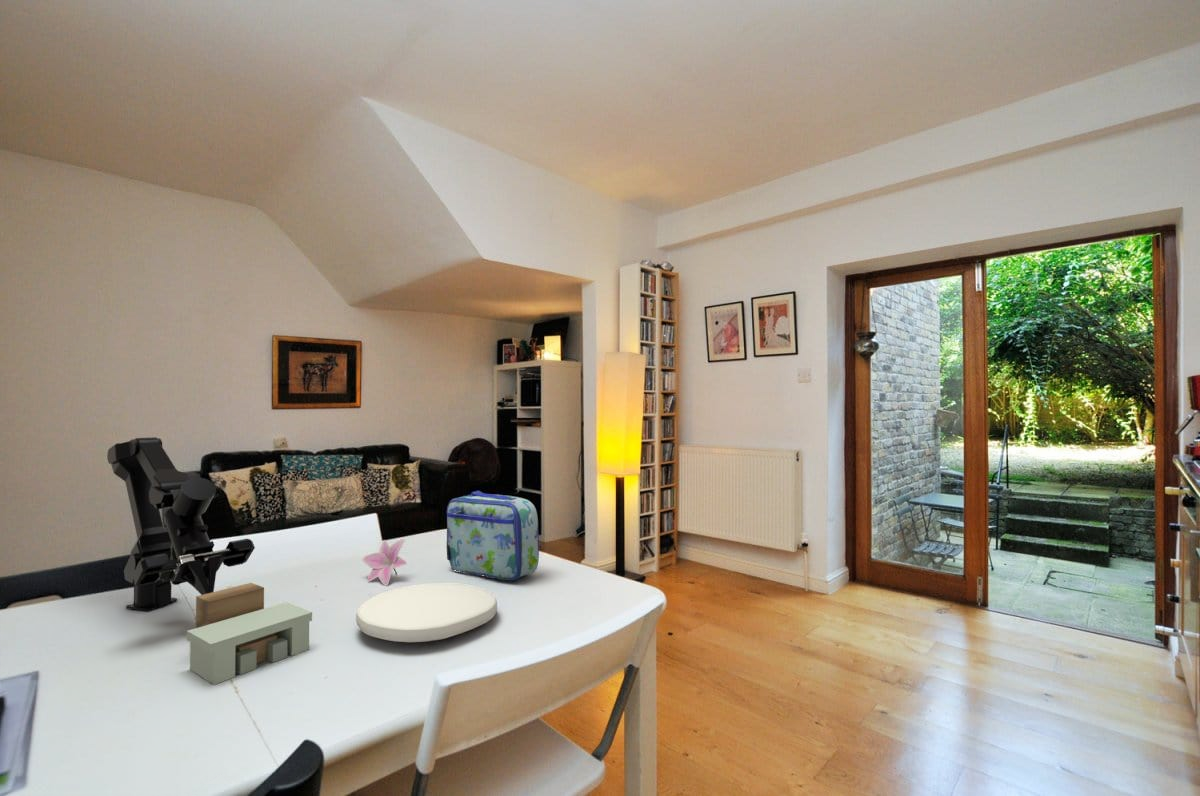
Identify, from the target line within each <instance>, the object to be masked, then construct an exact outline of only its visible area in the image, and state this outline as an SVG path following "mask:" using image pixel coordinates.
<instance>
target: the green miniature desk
mask: <svg viewBox="0 0 1200 796" xmlns="http://www.w3.org/2000/svg"><path fill="white" fill-rule="evenodd" d="M312 621H313V611H310V610H308V609H305V608H302V607H300V606H297V605H295V604H292V603H290V602H287V601H286V602H283V603H279V604H276V605H272V606H269V607H264V609H261V610H258V611H254V612H251V613H247V614H244V615H240V616H237V617H233V618H230V619H226V620H223V621H220V622H216V623H213V624H209V625H206V626H202V627H199V628H196V627H195V628H192V629H189V630H186V641H187V642H189V650H190V651H189V670H190V671H192V672H193V673H195V674H196V675H199V676H200V677H201V678H202V679H204V680H206V681H208V683H210V684H212V685H217V684H219V683H222V682H225V681H227V680H230V679H233V678H235V677H236V674H238V675H240V676H241V675H244V674H246V673H249V672H253V671H254V670H257V663H256V659H257V651H256V650H254V649H252V648H249V649H246V650H243V651H240V652H237V653H235V646H236V645H239V644H242V643H245V642H248V641H251V640H254V639H257V638H260V637H263V636H267V635H270V634H275V635H277V639H275V640H273V641H270V642H267V659H266V661H268V662H271V663H273V664H274V663H276V662H279V661H282V660H284V659H287V658H288V655H290V656H292V657H293V656H295V655H298V654H300V653H304V652H306V651H309V650H310V622H312Z"/></svg>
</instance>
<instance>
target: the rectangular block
mask: <svg viewBox="0 0 1200 796" xmlns="http://www.w3.org/2000/svg"><path fill="white" fill-rule="evenodd" d="M195 598H196V599H195V628H199V627H202V626H206V625H209V624H213V623H216V622H220V621H223V620H226V619H230V618H233V617H237V616H240V615H244V614H247V613H251V612H254V611H258V610H261V609H265V587H264V586H261V585H258V584H256V583H253V582H248V583H246V584H244V583H243V584H241V585H236V586H233V587H228V588H224V589H220V590H216V591H214V592H212V593H208V594H204V595H201V594H200V595H197V596H196V595H195ZM275 639H277V635H275V634H270V635H267V636H263V637H260V638H257V639H254V640H251V641H248V642H245V643H242V644H239V645H236V646H235V653H237V652H240V651H243V650H246V649H249V648H252V649H254V650H256V651H257V659H256V664H257V663H261V662H263V661H267V642H270V641H273V640H275Z"/></svg>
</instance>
